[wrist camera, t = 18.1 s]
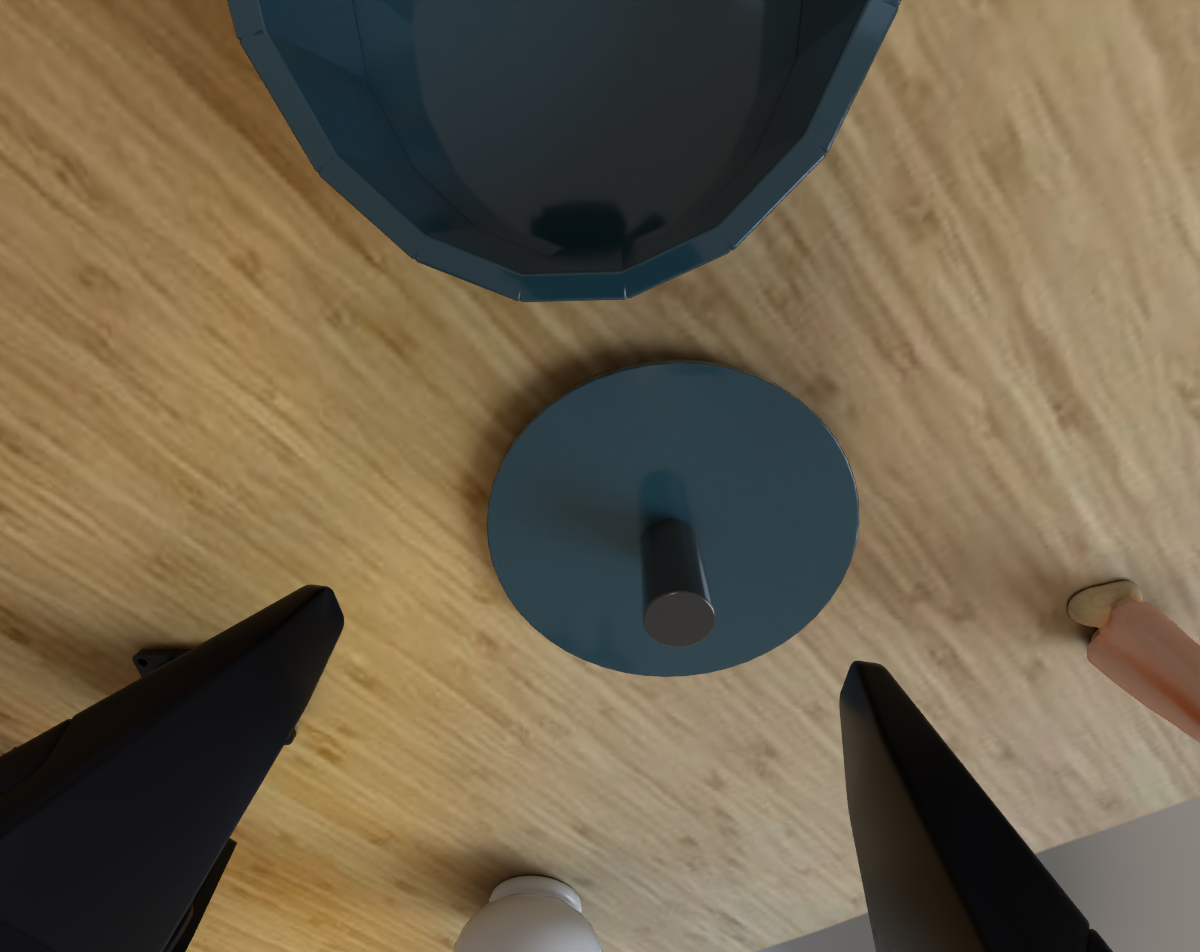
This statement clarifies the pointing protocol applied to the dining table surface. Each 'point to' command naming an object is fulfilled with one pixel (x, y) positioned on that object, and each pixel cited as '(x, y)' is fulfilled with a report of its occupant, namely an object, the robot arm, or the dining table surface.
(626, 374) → the lid
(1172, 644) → the grandmother figurine
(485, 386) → the dining table surface
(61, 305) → the dining table surface
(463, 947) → the flower vase
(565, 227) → the pot
